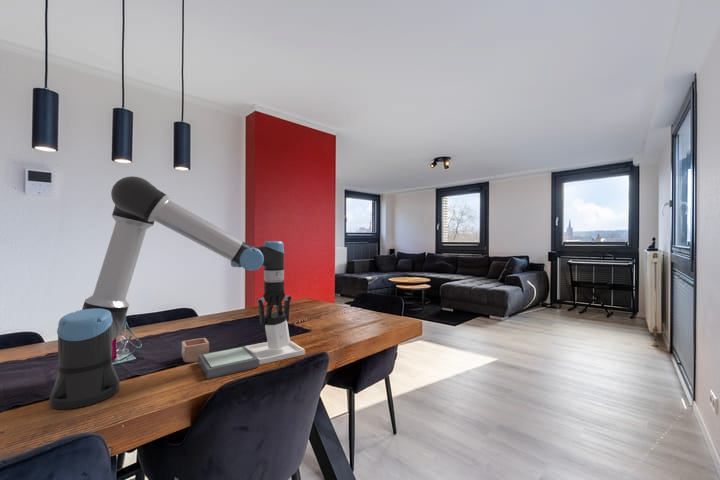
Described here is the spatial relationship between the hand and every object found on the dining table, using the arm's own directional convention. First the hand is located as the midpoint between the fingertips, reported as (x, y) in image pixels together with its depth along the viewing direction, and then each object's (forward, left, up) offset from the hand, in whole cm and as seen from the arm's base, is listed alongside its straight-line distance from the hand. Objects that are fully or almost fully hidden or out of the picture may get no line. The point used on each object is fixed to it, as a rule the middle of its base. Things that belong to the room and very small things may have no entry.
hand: (274, 341), depth 128 cm
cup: (-26, +11, -4) cm, 29 cm away
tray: (0, 0, -4) cm, 4 cm away
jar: (+2, 0, -2) cm, 3 cm away
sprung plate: (-18, -3, -2) cm, 18 cm away
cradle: (-18, -3, -4) cm, 19 cm away
